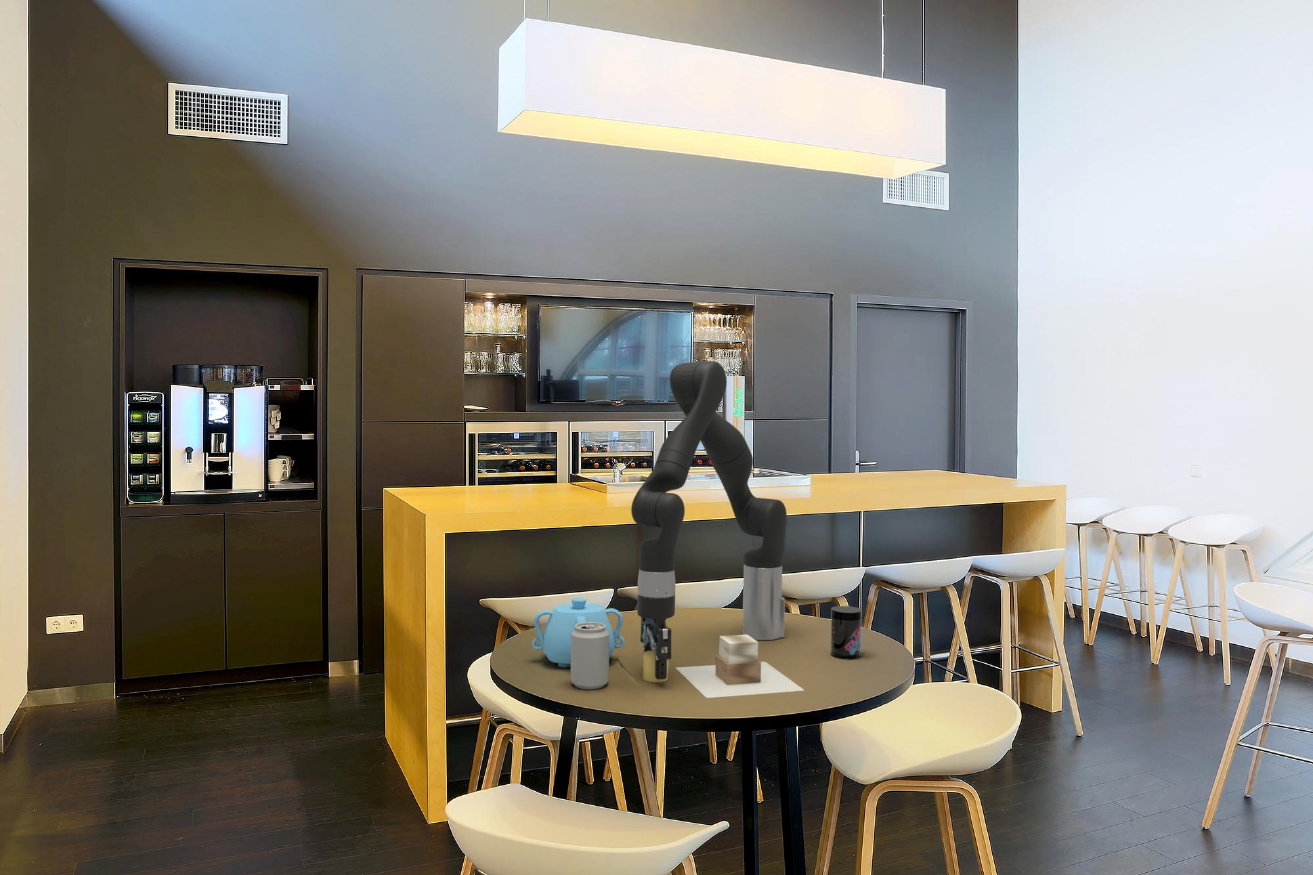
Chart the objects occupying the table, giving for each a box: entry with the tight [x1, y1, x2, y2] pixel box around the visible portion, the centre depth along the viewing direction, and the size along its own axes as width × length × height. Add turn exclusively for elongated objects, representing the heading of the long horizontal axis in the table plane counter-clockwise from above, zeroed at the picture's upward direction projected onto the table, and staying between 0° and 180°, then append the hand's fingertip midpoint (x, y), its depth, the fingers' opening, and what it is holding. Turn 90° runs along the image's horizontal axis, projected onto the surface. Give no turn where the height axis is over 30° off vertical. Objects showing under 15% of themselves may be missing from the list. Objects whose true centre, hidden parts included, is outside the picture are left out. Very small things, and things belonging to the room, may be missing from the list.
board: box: [675, 661, 806, 699], centre depth 186 cm, size 20×20×1 cm
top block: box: [718, 634, 759, 664], centre depth 186 cm, size 6×6×4 cm
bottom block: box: [715, 654, 762, 685], centre depth 186 cm, size 7×7×4 cm
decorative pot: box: [531, 597, 626, 668], centre depth 200 cm, size 16×16×14 cm
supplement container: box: [829, 605, 863, 660], centre depth 208 cm, size 7×7×10 cm
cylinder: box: [642, 650, 669, 683], centre depth 185 cm, size 5×5×6 cm
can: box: [570, 622, 610, 690], centre depth 184 cm, size 8×8×12 cm
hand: (654, 672), depth 185 cm, fingers open, 8 cm apart
